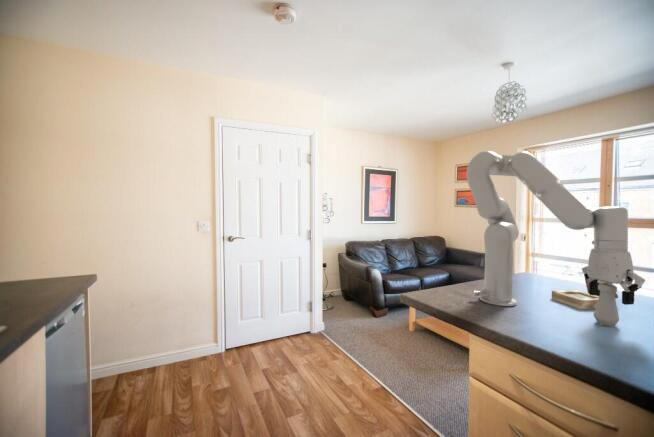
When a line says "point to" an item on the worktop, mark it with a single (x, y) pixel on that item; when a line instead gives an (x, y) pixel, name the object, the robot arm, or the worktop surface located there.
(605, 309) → the salt shaker
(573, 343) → the worktop surface
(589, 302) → the square wooden tray
